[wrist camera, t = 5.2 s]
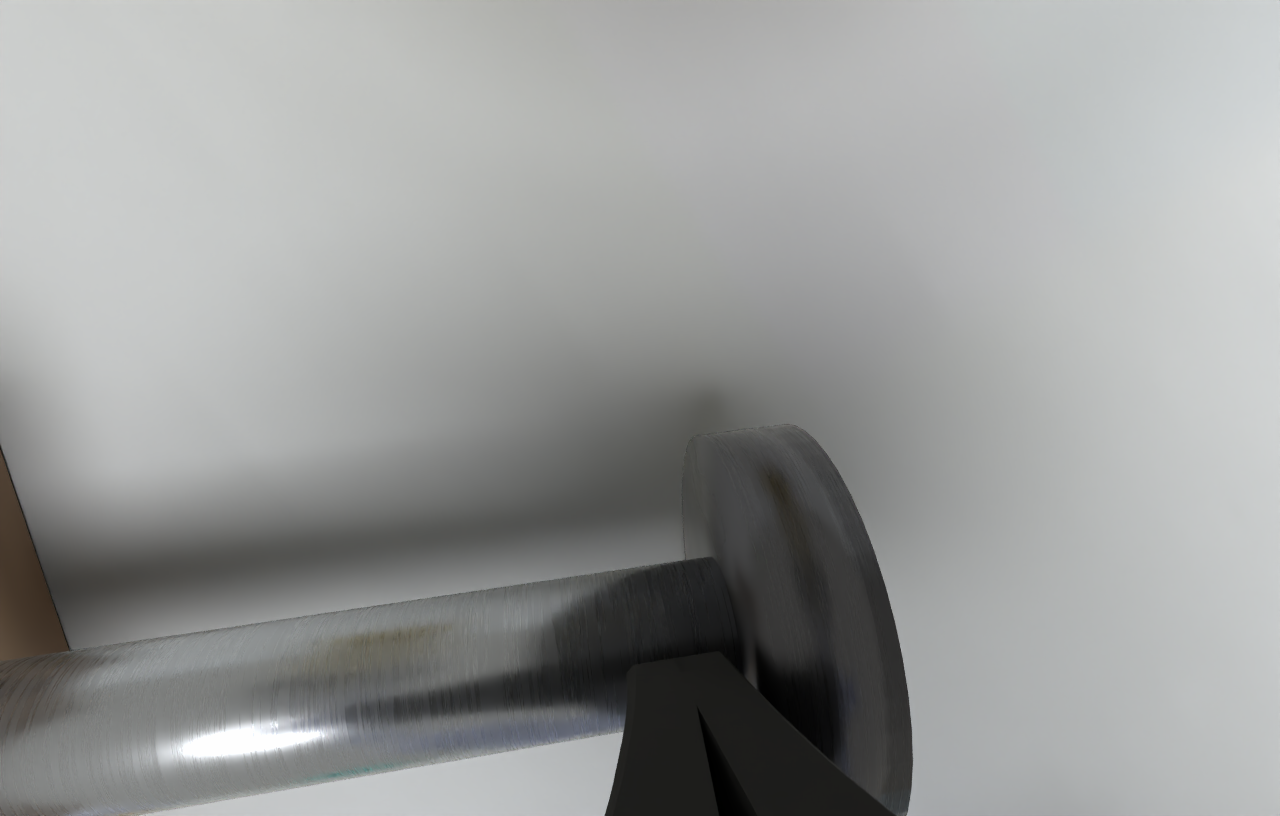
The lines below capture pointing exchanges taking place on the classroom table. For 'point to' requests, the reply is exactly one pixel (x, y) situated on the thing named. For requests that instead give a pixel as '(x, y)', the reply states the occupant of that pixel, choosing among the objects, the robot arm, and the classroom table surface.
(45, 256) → the classroom table surface
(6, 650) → the bearing block
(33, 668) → the shaft
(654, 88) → the classroom table surface
